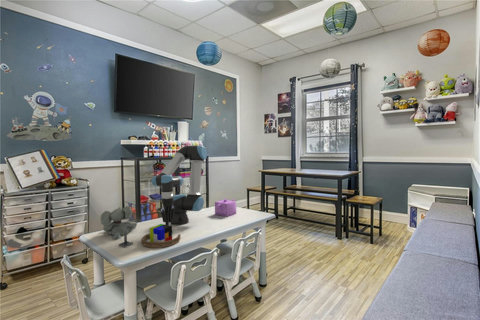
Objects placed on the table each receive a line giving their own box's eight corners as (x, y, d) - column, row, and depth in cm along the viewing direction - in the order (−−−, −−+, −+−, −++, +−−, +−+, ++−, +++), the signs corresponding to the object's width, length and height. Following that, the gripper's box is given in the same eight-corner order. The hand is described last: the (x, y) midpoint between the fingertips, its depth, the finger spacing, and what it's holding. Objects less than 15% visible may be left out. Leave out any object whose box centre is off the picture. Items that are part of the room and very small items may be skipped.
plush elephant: (105, 230, 198) (104, 203, 197) (136, 227, 205) (136, 201, 204) (98, 242, 173) (97, 211, 172) (134, 238, 180) (133, 208, 179)
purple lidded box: (241, 212, 248) (240, 197, 248) (223, 218, 229) (223, 202, 228) (228, 210, 258) (228, 196, 257) (211, 215, 238) (211, 200, 237)
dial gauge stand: (118, 246, 165) (117, 220, 164) (129, 241, 172) (128, 217, 172) (127, 248, 161) (127, 222, 161) (138, 243, 169) (137, 218, 168)
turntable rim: (133, 244, 167) (133, 239, 167) (157, 234, 186) (157, 230, 186) (162, 250, 157) (162, 245, 156) (184, 239, 175) (184, 234, 175)
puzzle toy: (161, 245, 165) (160, 230, 164) (150, 243, 170) (149, 227, 169) (172, 240, 174) (171, 225, 173) (161, 238, 178) (161, 223, 178)
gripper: (165, 199, 170) (166, 235, 171) (178, 196, 182) (178, 229, 183) (156, 198, 173) (157, 233, 174) (169, 195, 185) (170, 228, 186)
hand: (168, 231), depth 179 cm, fingers closed
